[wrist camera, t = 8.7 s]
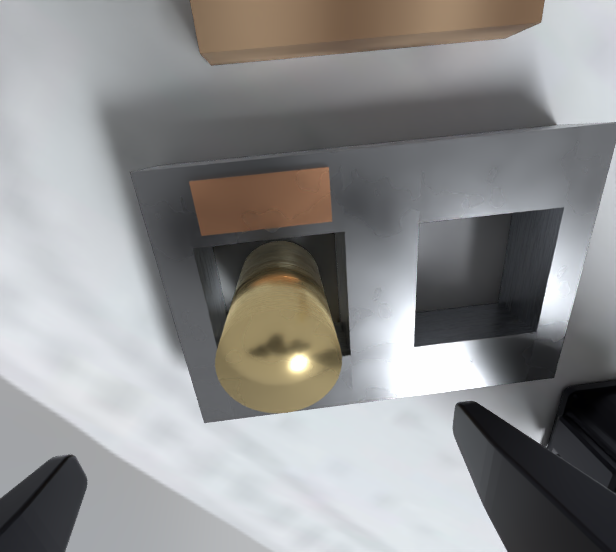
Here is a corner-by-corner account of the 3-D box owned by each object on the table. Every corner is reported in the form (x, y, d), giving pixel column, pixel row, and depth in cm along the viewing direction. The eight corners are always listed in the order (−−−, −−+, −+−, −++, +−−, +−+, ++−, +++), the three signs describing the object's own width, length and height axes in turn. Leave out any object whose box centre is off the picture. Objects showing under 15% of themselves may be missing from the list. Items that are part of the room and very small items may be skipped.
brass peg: (315, 236, 16) (338, 302, 10) (321, 307, 18) (345, 405, 11) (234, 245, 16) (202, 317, 9) (248, 316, 17) (228, 419, 11)
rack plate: (557, 124, 15) (626, 121, 12) (515, 344, 20) (557, 380, 17) (159, 165, 14) (127, 172, 11) (215, 381, 19) (203, 426, 16)
